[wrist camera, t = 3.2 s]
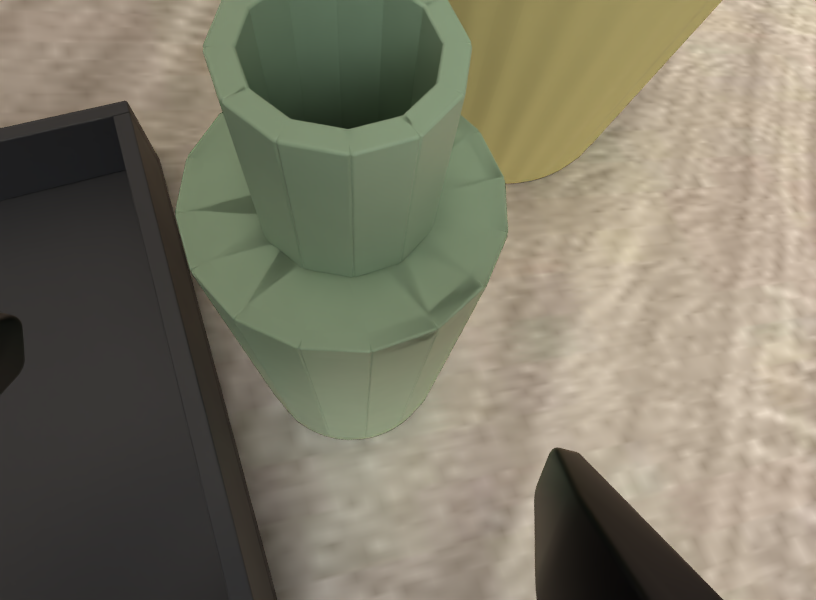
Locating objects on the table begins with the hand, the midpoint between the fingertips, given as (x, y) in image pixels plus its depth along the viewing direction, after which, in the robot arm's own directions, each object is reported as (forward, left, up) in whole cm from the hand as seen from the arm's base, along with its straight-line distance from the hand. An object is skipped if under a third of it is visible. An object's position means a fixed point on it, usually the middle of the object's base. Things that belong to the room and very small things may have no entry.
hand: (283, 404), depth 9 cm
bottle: (+3, -2, -11) cm, 11 cm away
